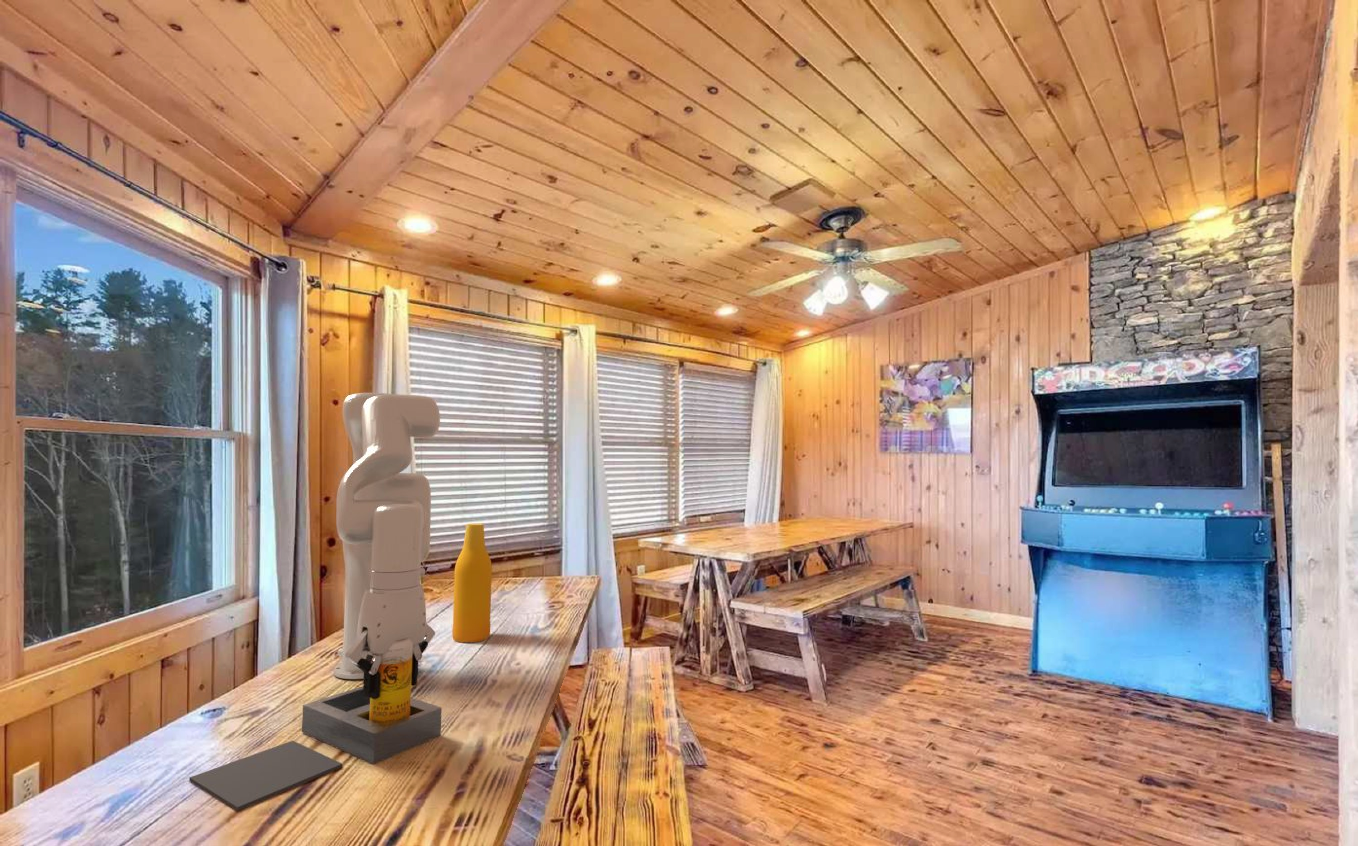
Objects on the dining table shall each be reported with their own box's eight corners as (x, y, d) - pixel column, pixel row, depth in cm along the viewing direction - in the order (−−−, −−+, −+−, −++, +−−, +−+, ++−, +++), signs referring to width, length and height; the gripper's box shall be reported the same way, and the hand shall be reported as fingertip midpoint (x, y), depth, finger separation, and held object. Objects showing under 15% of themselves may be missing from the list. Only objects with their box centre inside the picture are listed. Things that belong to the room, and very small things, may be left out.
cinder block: (301, 732, 105) (303, 704, 105) (369, 708, 115) (370, 683, 116) (373, 764, 95) (374, 733, 95) (440, 734, 105) (441, 707, 105)
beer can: (369, 741, 99) (373, 644, 100) (368, 725, 104) (372, 634, 105) (410, 734, 102) (414, 640, 102) (407, 719, 107) (411, 630, 108)
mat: (189, 780, 89) (189, 777, 89) (292, 743, 101) (292, 740, 101) (237, 810, 82) (237, 806, 82) (342, 766, 94) (342, 763, 94)
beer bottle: (483, 643, 157) (487, 526, 158) (446, 642, 157) (450, 525, 158) (494, 633, 166) (498, 522, 167) (459, 632, 166) (463, 522, 168)
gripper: (426, 568, 113) (422, 670, 113) (331, 585, 99) (325, 702, 98) (453, 574, 109) (449, 679, 109) (359, 592, 95) (353, 713, 94)
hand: (391, 688), depth 103 cm, fingers closed on beer can, 6 cm apart
